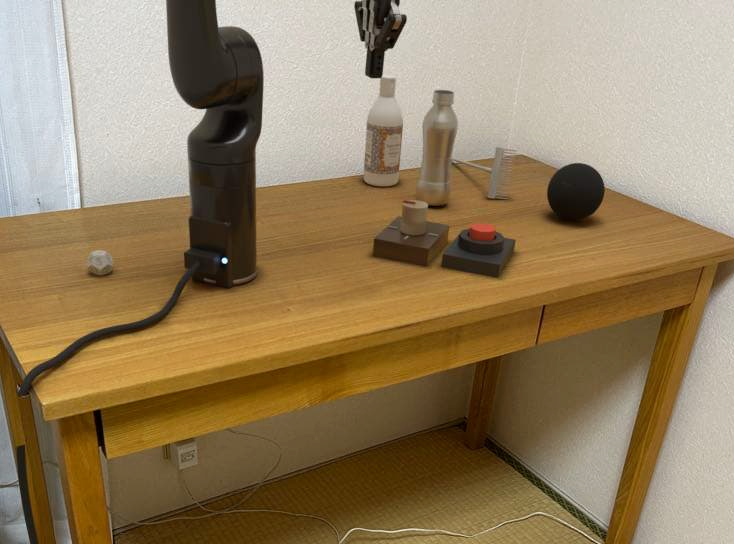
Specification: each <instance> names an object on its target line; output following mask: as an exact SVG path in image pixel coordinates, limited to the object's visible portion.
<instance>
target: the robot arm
mask: <svg viewBox="0 0 734 544" xmlns="http://www.w3.org/2000/svg"><path fill="white" fill-rule="evenodd" d="M216 1H217V0H165V5H166V7H165V8H166V34H167V53H168V55H167V56H168V64H169V70H170V76H171V79H172V83H173V85H174V88H175V91H176V93H177V94H178V95H179V97H180V98H181V100H182V101H183V102H184V103H185V104H186V105H188V106H189V107H190V108H193V109H195V110H205V112H204V115H203V116H202V118H201V120H200V121H199V122H198V124H197V125H196V126H195V127H194V128H193V129H192V130H191V131H190V132H189V134H188V136H187V139H186V140H187V141H186V149H187V167H188V189H189V209H190V216H189V217H188V234H189V235H188V236H189V249H187V250H185V251H184V252H183V263H184V269H185V270H186V272H185V273H184V274H183V275H182V277H181V278H180V280H179V281H178V282H177V284H176V287H175V289H174V291H173V293H172V294H171V296H170V298H169V299H168V301H167V302H166V303H165V305H164V306H163V308H162V309H161V310H159V311H158V312H156V313H154V314H152V315H151V316H148V317H146V318H143V319H141V320H137V321H133V322H132V321H131V322H128V323H123V324H117V325H112V326H107V327H103V328H100V329H96V330H94V331H92V332H90V333H87V334H85V335H83V336H82V337H80V338H78V339H77V340H75V341H74V342H72V343H71V344H70V345H68V346H67V347H66V348H65V349H63V350H62V351H61V352H59V353H58V354H57V355H55V356H53V357H52V358H51V359H48V360H46V361H43V362H42V363H39V364H38V365H36V366H34V367H33V368H32V369H30V370H29V372H27V374H26V376H25V377H24V378H23V380H22V382H21V384H20V386H19V389H18V392H17V396H18V397H24V396H26V395H28V393H29V390H30V388H31V386H32V384H33V383H34V381H35V380H36V379H37V378H38V377H39V376H40V375H41V374H43V373H45V372H47V371H49V370H51V369H54V368H55V367H57V366H59V365H60V364H62V363H64V361H66V360H67V359H68V358H70V357H71V356H72V355H73V354H74V353H76V352H77V351H78V350H80V349H81V348H82V347H84V346H86V345H87V344H89V343H91V342H93V341H96V340H98V339H100V338H103V337H107V336H110V335H114V334H120V333H126V332H130V331H136V330H139V329H143V328H146V327H149V326H151V325H154V324H155V323H157V322H159V321H161V320H162V319H164V318H165V317H166V316H167V315H168V314H169V313H170V312H171V311H172V309H173V308H174V306H175V304H176V303H177V302H178V300H179V299H180V297H181V295H182V293H183V290H184V288H185V287H186V285H187V283H188V282H189V280H190V279H191V280H192V281H195V282H200V283H204V284H209V285H212V286H213V285H214V286H219V287H222V288H227V289H229V288H231V287H233V286H237V285H241V284H246V283H248V282H251V281H253V280H254V279H255V278H256V277H257V276H258V261H257V259H258V258H257V257H258V256H257V254H258V253H257V252H258V251H257V248H258V247H257V157H256V156H257V144H258V142H259V139H260V137H261V133H262V128H263V108H264V87H265V86H264V83H265V82H264V80H265V79H264V78H265V77H264V62H263V57H262V54H261V50H260V47H259V45H258V43H257V41H256V40H255V39H254V37H253V35H251V34H250V33H249V31H247V30H246V29H244V28H242V27H239V26H233V25H226V26H219V22H218V14H217V2H216ZM400 3H401V0H356V1H355V2H354V6H353V7H354V13H355V19H356V23H357V28H358V34H359V39H360V40H359V41H360V42H364V48H365V49H366V55H365V56H366V59H365V69H364V75H365V76H366V77H368V78H369V79H380V78H381V77H382V75H384V74H383V73H384V65H385V55H386V52H388V50H392V49H394V47H395V46H396V44H397V42H398V40H399V38H400V36H401V33H402V32H403V29H404V27H405V25H406V24H407V21H408V18H407V14H405V13H404V14H401V12H400V9H399V7H400ZM15 448H16V451H15V452H16V454H15V455H16V467H17V468H16V469H17V478H18V487H19V494H20V501H21V506H22V512H23V513H22V514H23V518H24V523H25V528H26V532H27V536H28V537H27V538H28V542H29V544H40V543H39V539H38V533H37V529H36V525H35V519H34V514H33V509H32V503H31V496H30V489H29V482H28V481H29V480H28V472H27V471H28V470H27V456H26V444H22V445H18V446H15Z"/></svg>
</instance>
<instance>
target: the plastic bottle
mask: <svg viewBox="0 0 734 544" xmlns="http://www.w3.org/2000/svg"><path fill="white" fill-rule="evenodd" d="M454 99H455V92H454V91H453V90H448V89H435V90H434V91H433V94H432V99H431V103H432V106H431V107H430V108H429V110H428V111H427V112H426V114H425V115H424V117H423V120H422V156H421V157H422V159H421V165H420V171H419V177H418V179H417V183H416V187H415V194H416V195H415V196H416V200H419V201H423V202H425V203H427V204H428V206H433V207H434V206H435V207H436V206H437V207H438V206H443V205H446V204H447V202H448V201H449V200H450V198H451V194H452V182H451V181H452V180H451V167H452V166H451V164H452V160H451V158H452V157H453V152H454V146H455V142H456V137H457V134H458V130H459V129H458V128H459V120H458V117H457V114H456V113H455V111H454V108H453V105H454V103H455V101H454Z"/></svg>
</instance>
